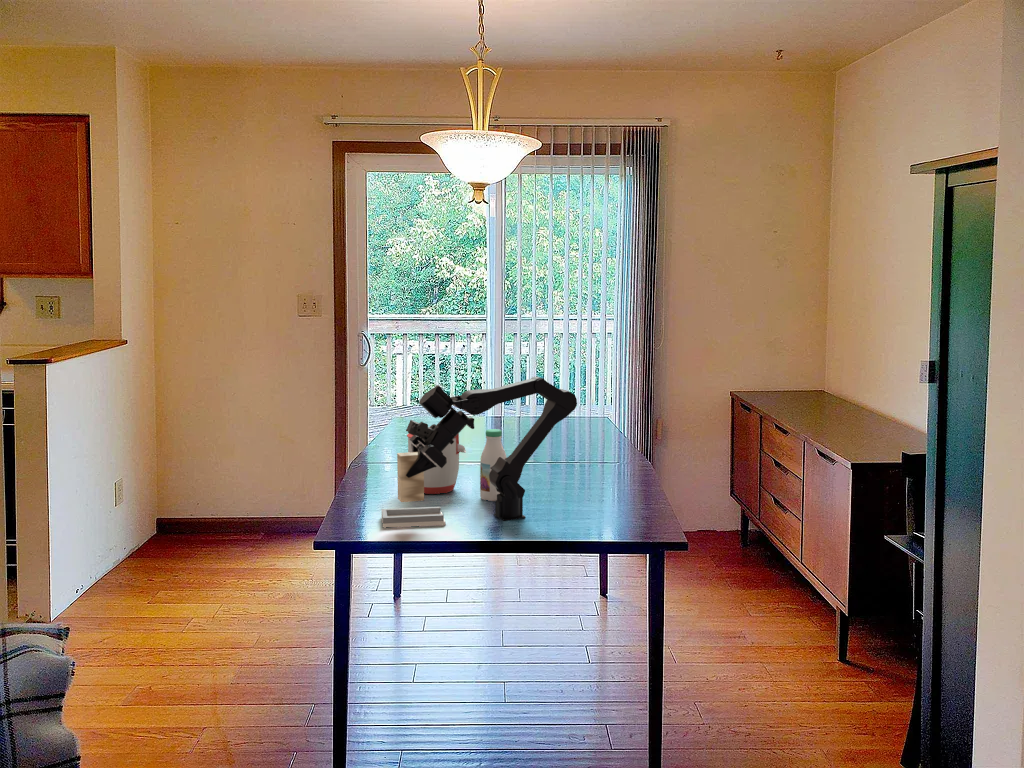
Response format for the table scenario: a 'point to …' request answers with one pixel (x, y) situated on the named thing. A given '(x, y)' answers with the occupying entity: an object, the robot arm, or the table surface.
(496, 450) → the milk bottle
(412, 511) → the track board
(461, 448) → the citrus juicer
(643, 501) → the table surface
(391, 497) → the table surface
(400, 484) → the upright wooden block
